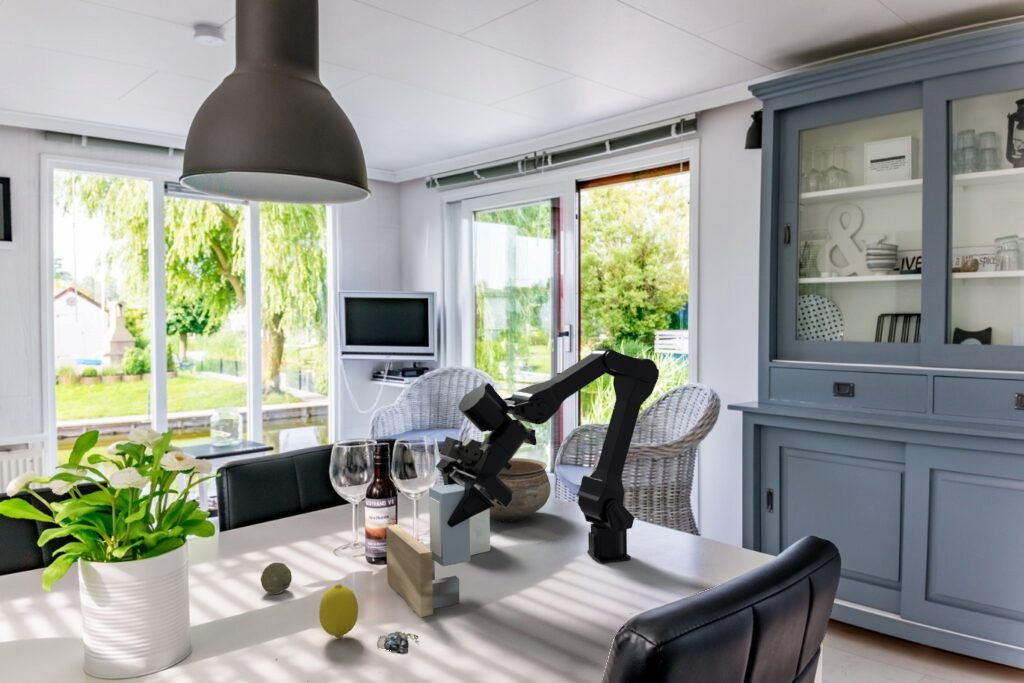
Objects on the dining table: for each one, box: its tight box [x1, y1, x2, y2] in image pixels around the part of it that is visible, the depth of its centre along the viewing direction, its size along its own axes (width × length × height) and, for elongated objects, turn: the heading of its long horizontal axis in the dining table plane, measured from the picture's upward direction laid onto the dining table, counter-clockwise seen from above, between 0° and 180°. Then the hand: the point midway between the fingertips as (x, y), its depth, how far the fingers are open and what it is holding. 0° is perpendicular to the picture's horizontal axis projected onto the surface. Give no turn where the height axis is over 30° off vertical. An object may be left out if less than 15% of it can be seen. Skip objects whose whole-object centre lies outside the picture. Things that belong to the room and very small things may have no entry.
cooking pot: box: [490, 457, 552, 523], centre depth 165 cm, size 25×19×12 cm
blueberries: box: [376, 631, 420, 655], centre depth 102 cm, size 7×8×2 cm
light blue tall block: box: [428, 484, 471, 567], centre depth 120 cm, size 5×5×12 cm
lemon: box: [318, 583, 359, 639], centre depth 104 cm, size 6×6×8 cm
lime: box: [260, 561, 293, 595], centre depth 123 cm, size 4×5×5 cm
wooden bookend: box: [385, 523, 460, 618], centre depth 120 cm, size 8×17×10 cm, turn 27°
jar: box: [470, 508, 491, 556], centre depth 144 cm, size 9×8×12 cm
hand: (442, 521), depth 120 cm, fingers closed on light blue tall block, 5 cm apart
